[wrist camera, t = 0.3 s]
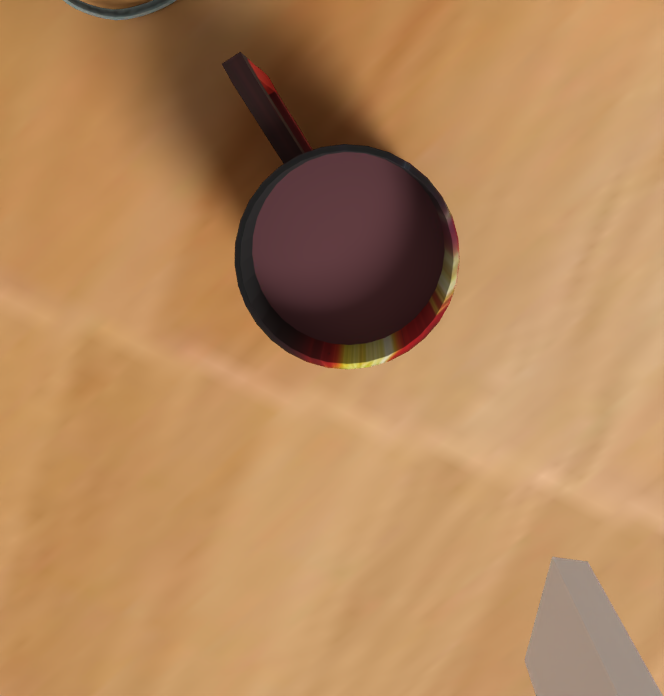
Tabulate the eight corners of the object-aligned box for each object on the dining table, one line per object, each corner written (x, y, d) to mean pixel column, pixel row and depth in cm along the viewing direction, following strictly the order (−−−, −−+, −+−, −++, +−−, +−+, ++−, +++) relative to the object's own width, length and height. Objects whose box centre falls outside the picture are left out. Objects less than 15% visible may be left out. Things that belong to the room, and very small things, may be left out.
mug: (264, 75, 36) (219, 33, 25) (462, 207, 38) (506, 227, 26) (185, 219, 39) (110, 243, 27) (373, 337, 40) (377, 407, 29)
